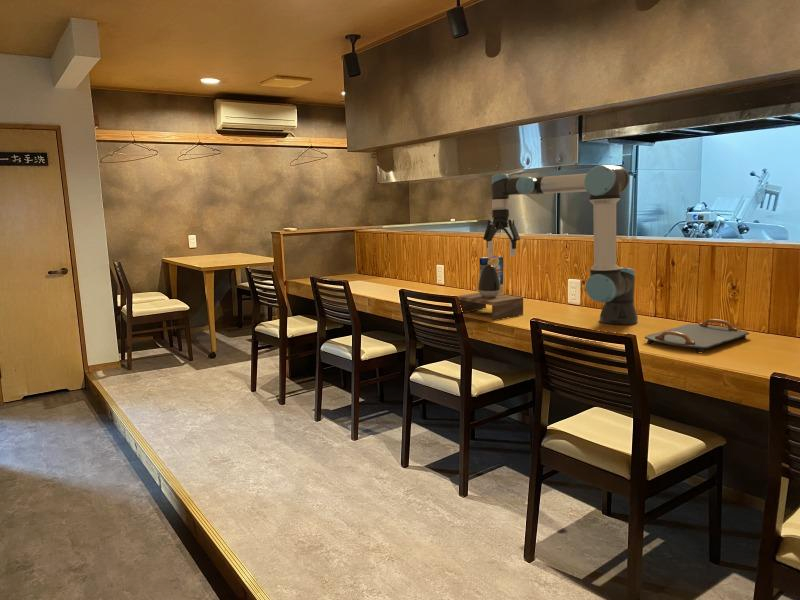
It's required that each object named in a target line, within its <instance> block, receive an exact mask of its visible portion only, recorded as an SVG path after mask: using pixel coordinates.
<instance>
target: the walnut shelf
mask: <svg viewBox="0 0 800 600" xmlns="http://www.w3.org/2000/svg"><path fill="white" fill-rule="evenodd" d="M456 296H457V297H458V298H459V302H460V305H461V308H462V311H463V313H468V312H467V311H469V312H473V311H472V310H475V311H478V310H477V309H480V310H484V309H483V308H486V309H487V305H488V306H491V320H492V319H493V320H492V321H498V320H497V319H500V320H503V319H502V318H505V319H508V318H507V317H510V318H514V317H513V316H515V317H519V316H518V315H520V316H523V315H524V297H521V296H513V295H507V294H503V295H501V294H498V295H497V296H496V297H493V298H485V297H483V296H481V295H480V293H479V292H474V293H467V294H461V295H460V294H459V295H456Z"/></svg>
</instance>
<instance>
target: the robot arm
mask: <svg viewBox="0 0 800 600" xmlns="http://www.w3.org/2000/svg"><path fill="white" fill-rule="evenodd" d="M629 184H630V175H629V173H628V171H627V170H626V169H625V168H624V167H623V166H620V165H610V164H600V165H599V164H598V165H596V166H594V167H592V168H590V169H589V171H587V173H576V174H575V173H574V174H565V175H551V176H537V177H533V176H532V177H531V176H517V177H509V174H507V173H500V174H499V173H498V174H497V173H495V174H492V176H491V184H490V185H491V208H492V210H491V211H492V212H491V216H492V218H493V219H488V220H487V226H486V229H485V232H484V234H483V239H482V240H484V241H486V248H487V257H490V256H493V255H494V241H493V238H494V237H495V235H496V234H497V232H498V231H499V230H500V231H501V230H503V231H504V232H505V234H506V235H507V237H508V238H509V257H516V249H517V241H519V240H521V237H520V236H519V233H518V232H519V231H518V230H517V227H516V225H515V219H514V218H513V219H512V218H511V219H509V217H510V210H509V208H510V199H509V197H510V196H516V195H517V196H519V195H544V194H545V195H546V194H559V193H560V194H562V193H582V192H584V193H585V192H587V193H588V195H589V198H588V199H589V200H588V201H589V202H590V203H591V204H592V205H593V265H592V266H591V267H590V268H589V278H587V280H586V283H585V291H586V294H587V295H588V297H589V298H590V299H591V300H592V301H594V302H597V303H603V306H602V309H601V312H600V315H599V322H601V323H604V324H610V325H618V324H623V326H625V325H635V324H637V323H638V322H639V321H638V320H639V319H638V318H639V317H638V313H637V311H636V307H635V283H636V282H635V281H636V272H635V269H634V268H630V267H620V266H619V265H618V264H617V203H618V202H619V201H621V193H623V192H624V191H625V190H626V189H627V188H628V186H629Z"/></svg>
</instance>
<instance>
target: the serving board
mask: <svg viewBox="0 0 800 600" xmlns="http://www.w3.org/2000/svg"><path fill="white" fill-rule="evenodd" d="M698 323H699V322H698ZM698 323H687V324H682V325H680V326H675V327H671V328H669V329H666V330H662V331H659V332H655V333H651V334H647V335H645V336H644V339H646V340H647V343H646V344H648V343H653V344H654V342H655V343H660V344H665V345H669V346H670V345H671V346H675V347H676V346H678V347H682V348H683V347H685V348H691V349H696V353H697V352H705V350H704V349H709V348H712V347H715V346H719V345H722V344H725V343H728V342H731V341H733V340H737V339H740V338H742V339H741V340H745V339H747V336H748V335H750V332H749V331H746V330H741V329H739V328H737V327H734V326H733V324H732V323H731V322H729V321H727V320H725V319H718V318H710V319H707V320H705V321H703V322H700V323H699V324H698ZM709 323H716V324H717V323H718V324H723V325H725V326H720V325H710V324H709Z"/></svg>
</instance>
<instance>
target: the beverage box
mask: <svg viewBox="0 0 800 600" xmlns="http://www.w3.org/2000/svg"><path fill="white" fill-rule="evenodd" d="M488 264H490V265H493V266H494V267H495V269H496V271H497V274H498V277H499V282H500V290H499V294H501V295H504V256H493V255H492V256H486V257H485V256H483V257H479V276H480V275H481V272H482V269H483V268H484V266H485V265H488Z"/></svg>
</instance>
